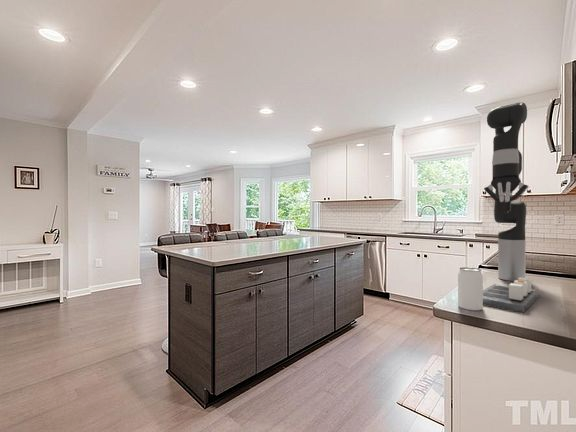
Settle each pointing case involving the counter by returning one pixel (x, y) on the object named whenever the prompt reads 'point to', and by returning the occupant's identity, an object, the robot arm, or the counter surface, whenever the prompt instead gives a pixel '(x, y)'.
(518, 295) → the block
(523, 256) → the robot arm
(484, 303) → the panel
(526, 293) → the block
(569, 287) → the counter surface
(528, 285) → the block
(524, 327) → the counter surface
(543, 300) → the counter surface
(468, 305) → the can
